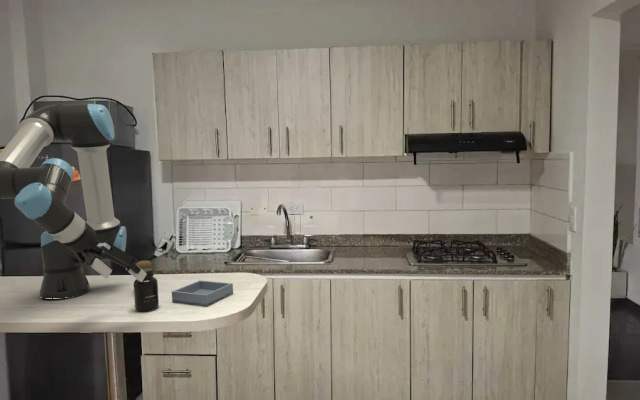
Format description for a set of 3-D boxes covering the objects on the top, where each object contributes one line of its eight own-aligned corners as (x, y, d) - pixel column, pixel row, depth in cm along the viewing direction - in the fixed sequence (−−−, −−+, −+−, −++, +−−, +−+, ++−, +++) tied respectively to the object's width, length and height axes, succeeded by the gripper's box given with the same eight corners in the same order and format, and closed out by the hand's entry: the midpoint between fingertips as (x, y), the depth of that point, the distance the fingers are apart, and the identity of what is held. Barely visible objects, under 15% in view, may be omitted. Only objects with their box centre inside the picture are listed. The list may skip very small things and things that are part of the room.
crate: (172, 302, 142) (171, 291, 142) (200, 290, 154) (199, 280, 154) (206, 306, 136) (206, 295, 136) (233, 293, 149) (232, 283, 148)
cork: (158, 291, 154) (155, 260, 153) (141, 296, 150) (138, 263, 149) (149, 288, 158) (147, 258, 157) (133, 293, 154) (130, 261, 153)
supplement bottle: (151, 312, 133) (148, 273, 132) (130, 312, 134) (127, 272, 133) (163, 305, 139) (160, 267, 138) (143, 304, 141) (141, 267, 140)
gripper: (32, 242, 117) (88, 283, 132) (99, 247, 106) (152, 291, 121) (50, 219, 121) (102, 262, 136) (116, 221, 111) (165, 267, 125)
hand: (126, 276), depth 129 cm, fingers open, 13 cm apart
